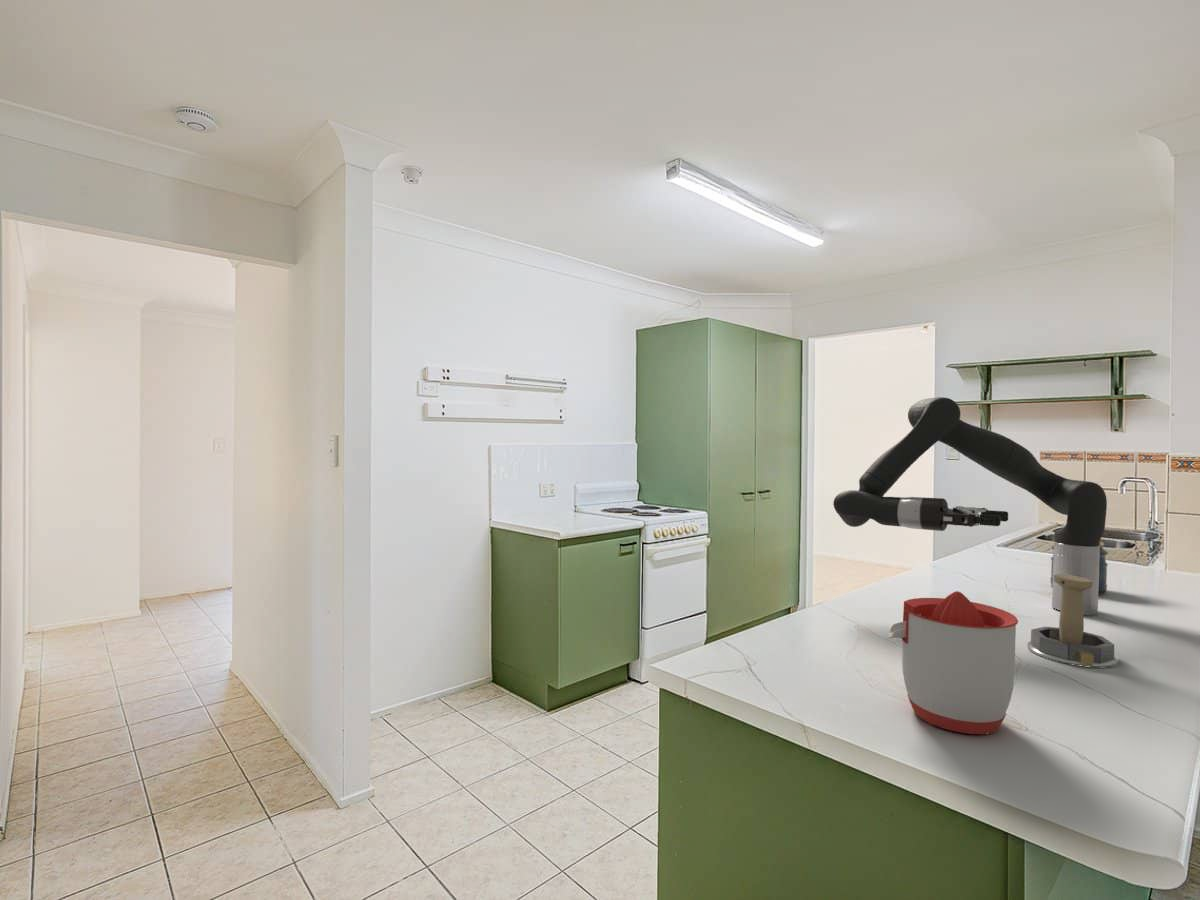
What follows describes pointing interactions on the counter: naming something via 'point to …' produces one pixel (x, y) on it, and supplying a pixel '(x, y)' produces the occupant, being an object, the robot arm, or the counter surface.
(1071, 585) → the handle
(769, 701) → the counter surface
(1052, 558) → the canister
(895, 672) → the counter surface
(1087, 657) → the grey shallow octagonal dish
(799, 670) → the counter surface
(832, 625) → the counter surface
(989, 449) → the robot arm
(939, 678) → the citrus juicer
